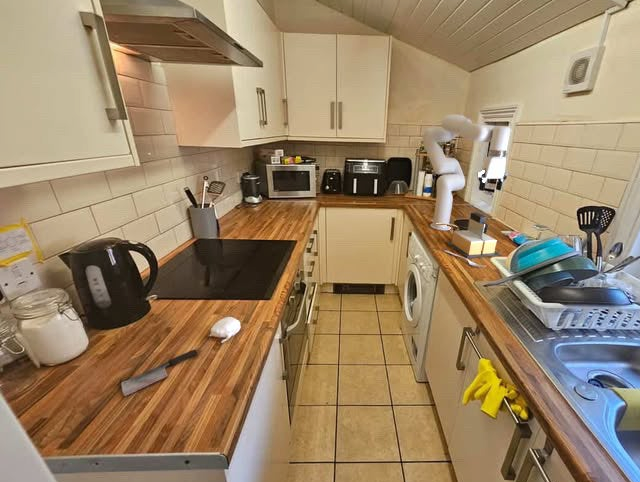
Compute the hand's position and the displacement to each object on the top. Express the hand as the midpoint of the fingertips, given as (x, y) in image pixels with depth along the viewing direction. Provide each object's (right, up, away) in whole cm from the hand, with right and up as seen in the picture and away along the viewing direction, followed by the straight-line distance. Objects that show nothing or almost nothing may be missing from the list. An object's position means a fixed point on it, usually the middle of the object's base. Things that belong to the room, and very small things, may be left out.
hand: (489, 190), depth 149 cm
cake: (-8, -29, +3) cm, 31 cm away
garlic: (-104, -55, -63) cm, 133 cm away
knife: (-8, -22, 0) cm, 23 cm away
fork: (-17, -35, -9) cm, 40 cm away
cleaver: (-112, -61, -77) cm, 149 cm away
